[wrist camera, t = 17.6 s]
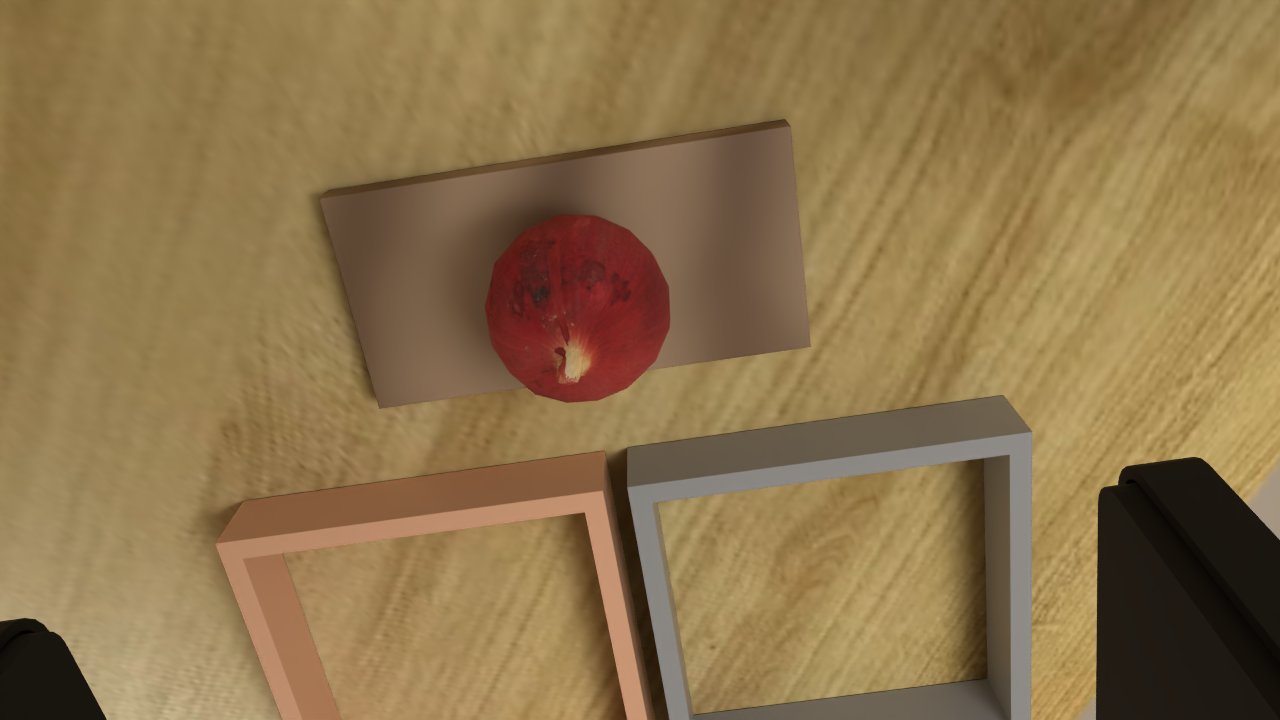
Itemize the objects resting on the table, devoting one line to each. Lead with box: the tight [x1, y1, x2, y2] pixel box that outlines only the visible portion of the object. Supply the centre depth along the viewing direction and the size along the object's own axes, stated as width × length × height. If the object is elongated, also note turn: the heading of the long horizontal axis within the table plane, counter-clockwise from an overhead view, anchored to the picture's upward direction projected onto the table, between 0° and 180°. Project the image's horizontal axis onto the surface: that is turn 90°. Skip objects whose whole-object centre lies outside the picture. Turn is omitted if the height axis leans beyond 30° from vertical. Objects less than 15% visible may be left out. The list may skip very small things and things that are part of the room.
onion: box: [485, 214, 670, 403], centre depth 32 cm, size 6×6×8 cm
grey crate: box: [627, 395, 1032, 720], centre depth 40 cm, size 15×15×3 cm
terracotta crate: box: [215, 451, 656, 720], centre depth 41 cm, size 15×15×3 cm
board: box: [319, 120, 811, 409], centre depth 36 cm, size 16×8×1 cm, turn 99°
